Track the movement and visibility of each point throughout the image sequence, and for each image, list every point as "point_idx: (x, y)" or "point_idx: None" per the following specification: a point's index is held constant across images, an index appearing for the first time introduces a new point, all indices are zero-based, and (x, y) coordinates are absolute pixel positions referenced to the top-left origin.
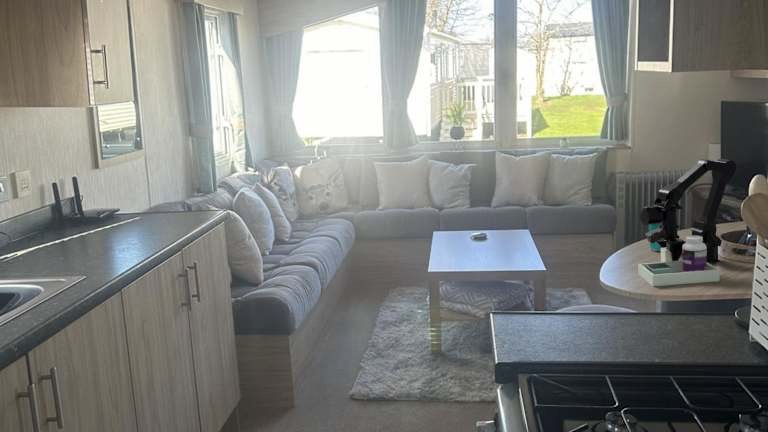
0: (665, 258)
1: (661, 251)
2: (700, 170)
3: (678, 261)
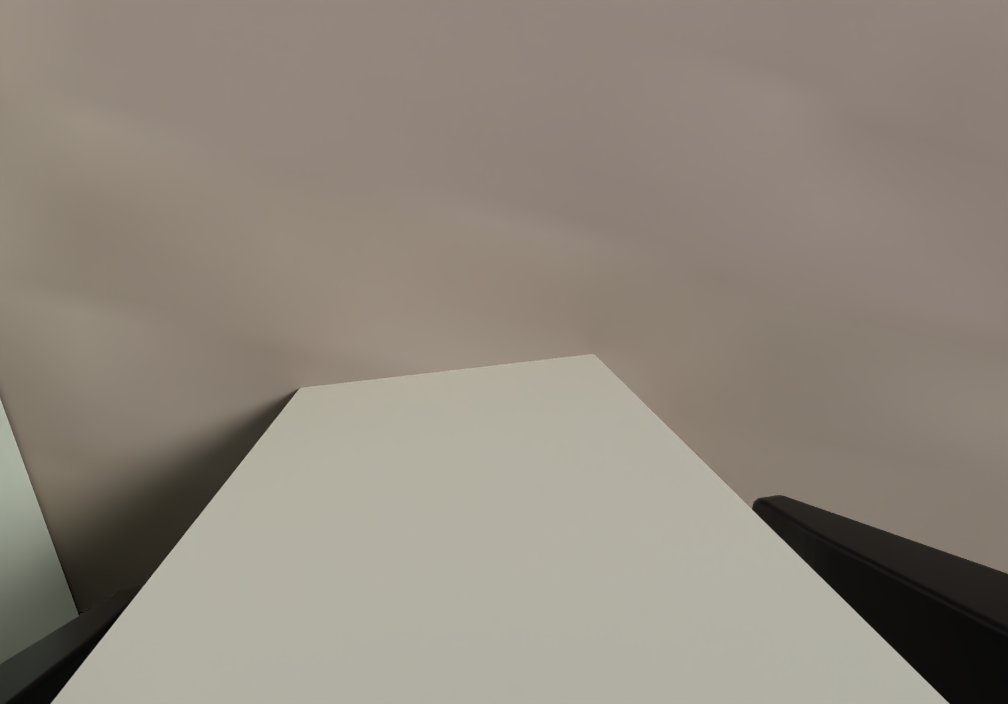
0: (192, 530)
1: (702, 584)
2: None
3: None
